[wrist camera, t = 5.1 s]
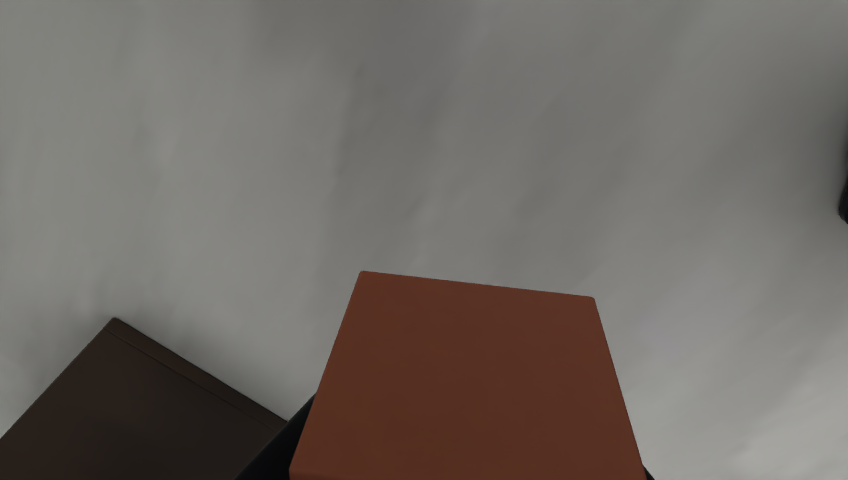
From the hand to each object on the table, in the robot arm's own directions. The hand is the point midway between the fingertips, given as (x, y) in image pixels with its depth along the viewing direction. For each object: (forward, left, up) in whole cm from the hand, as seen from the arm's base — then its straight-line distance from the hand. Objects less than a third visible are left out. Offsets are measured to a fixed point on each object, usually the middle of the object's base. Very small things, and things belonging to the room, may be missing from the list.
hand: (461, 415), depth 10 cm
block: (0, 0, -1) cm, 1 cm away
